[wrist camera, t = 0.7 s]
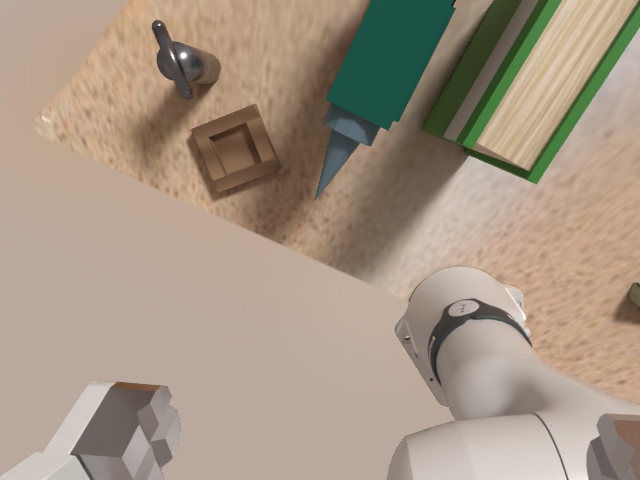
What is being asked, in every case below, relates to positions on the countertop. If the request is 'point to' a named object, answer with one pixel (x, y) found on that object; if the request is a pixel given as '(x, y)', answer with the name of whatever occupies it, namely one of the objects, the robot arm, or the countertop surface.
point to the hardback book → (531, 78)
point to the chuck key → (184, 62)
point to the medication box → (635, 293)
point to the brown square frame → (236, 148)
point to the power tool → (380, 73)
